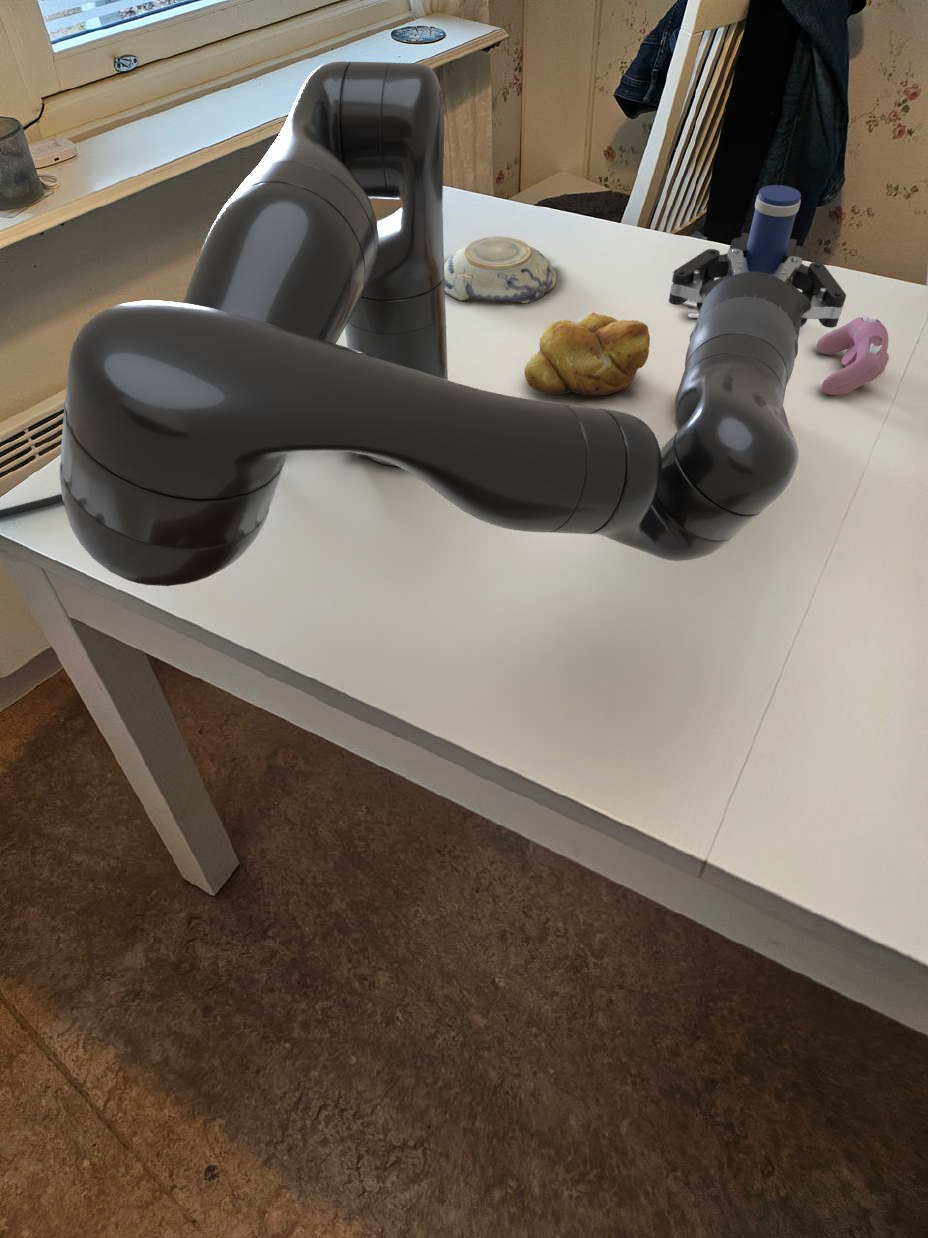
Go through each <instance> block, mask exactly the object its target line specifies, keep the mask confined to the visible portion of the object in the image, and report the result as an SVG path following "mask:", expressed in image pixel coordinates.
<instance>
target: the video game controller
mask: <svg viewBox="0 0 928 1238" xmlns="http://www.w3.org/2000/svg"><path fill="white" fill-rule="evenodd" d="M815 349H816V351H817V353H819V354H821V355H822V354H823V355H831V354H836V353H841V352H843V351H845V353H844V355H843V356H842V359H841V361H840V362H841V365H842V366H844V367H843V368H841V369H839V370H837V371H836V372H833V373H831V374H830V375H828V376H827V377H826V378H825V379H824V380H823V381H822V383H821V386H820V388H821V391H822V393H824V394H826V395H830V396H833V395H841V394H845V393H849V392H851V391H854V390H855V389H858V388H860V387H861V386H863V385H865V384H867V383H870V382H872V381H874V380H875V379H877V378H878V377H879V376H881V375H882V374H883V373H884V372H885V371H886V368H887V365H888V362H889V359H890V355H889V352H888V349H889V332H888V329H887V328H886V326H885V325H884V324H883V323H882V322H881V320H879V319H877V318H875V317H868V316H867V314H864V315H863V316H862V317H857V318H854V319H853V320H851V321H849V322H848V323H846V324H844V325H842V326H840V327H838V328H835V329H833V330H831V331H829V332H828V333H827V332H826V333H825V334H824V335H823V336H822V337H820V338H819V339H818V340H817V342H816V345H815Z"/></svg>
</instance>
